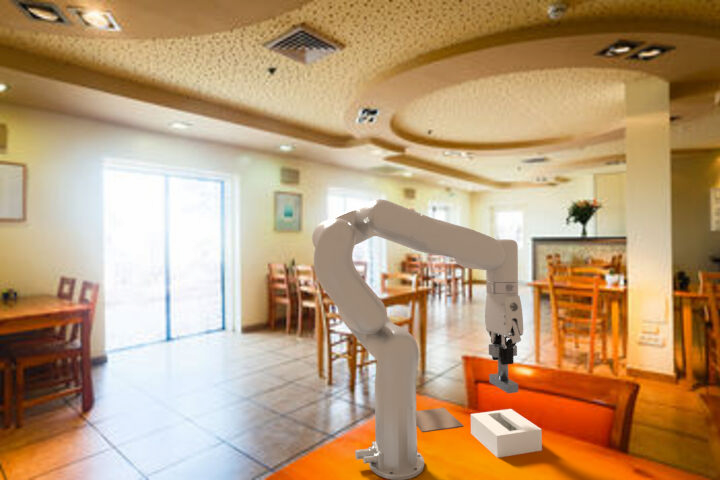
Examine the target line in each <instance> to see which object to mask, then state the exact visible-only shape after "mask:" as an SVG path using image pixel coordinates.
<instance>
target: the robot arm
mask: <svg viewBox="0 0 720 480" xmlns="http://www.w3.org/2000/svg"><path fill="white" fill-rule="evenodd" d="M373 237H378V238H382V239H384V240H386V241H390V242H393V243H395V244H398V245H401V246H404V247H407V248H409V249H411V250H413V251H417V252H421V253H424V254H429V255H436V256H442V257H448V258H452V259H454V261H455V263H456V264H457V265H459V266H460V267H462V268H465V269H469V270H470V269H471V270H480V271H486V272H485V273H486V274H485V276H486V277H485V278H486V285H485V287H486V297H485V298H486V299H485V307H484V312H485V313H484V321H485V322H484V324H485V330H486V331H487V333H488V334H489V337H490V344H500V343H502V347H503V348H501V364H503V365H506V364H508V365H513V364H514V361H515V360H514V356H513V348H515V345H517V343H519V342H521V341H522V338H521V336H523V335H524V318H523V308H522V307H523V306H522V301H521V298H520V295H519V249H518V246H519V245H518V243H517V241H516V240H514V239H509V238H508V239H505V238H504V239H501V238H500V239H499V238H498V239H495V238H494V237H491V236H489V235H487V234H484V233H482V232H480V231H477V230H474V229H471V228H469V227H465V226H461V225H458V224H455V223H450V222H447V221H445V220H441V219H437V218H433V217H430V216H427V215H425V214H423V213H420V212H418V211H414V210H412V209H410V208H407V207H406V206H405V207H404V206H402V205H400V204H397V203H394V202H393V201H389V200H387V199H381V198H380V199H379V198H378V199H374V200H371V201H368V202H365V203H363V204H362V205H359V206H357V207H355V208H353V209H351V210H348V211H346V212H344V213H341V214H339V215H336V216H334V217H331V218H330V219H327V220H324V221H322V222H320V223H319V224H318V225H317V226H316V227H315V228H314V230H313V233H312V237H311V239H312V243H313V246H314V253H313V266H314V267H313V268H314V273H315V276H316V279H317V282H318V283H319V284H320V286H321V288H322V289H323V290H324V291H325V293H326V294H327V295H328V297H329V299H330V301H332V303H333V304H334V305H335V306H336V307H337V312H338V315H339V317H340V319H341V321H342V322H343V323H344V325H345V326H346V327H347V329H348V330H349V331H350V332H351V334H353V336H354V337H355V338H356V339H357V341H358V342H359V343H360V344H361V345H362V347H363V348H364V349H365V351H367V353H369V354H370V355H371V356H372V357H373V358H374V359H375V360H376V371H375V376H374V377H375V378H374V423H375V424H374V426H375V429H374V431H375V432H374V434H375V441H371V446H369V447H368V448H364V449H355V452H354V454H355V455H354V456H355V459H356V460H363V464H368V465H369V469H371V471H372V472H373V474H376V475H377V476H378V477H382V478H384V479H387V480H410V479H412V478H415V477H417V476H418V475H420V474H421V473H422V472H423V470H424V468H425V460H424V457H423V456H422V454H421V453H420V452H418V437H417V436H418V433H417V431H418V430H417V428H418V426H417V420H416V411H417V371H418V365H419V358H420V357H419V356H420V355H419V354H420V351H419V345H418V343H417V341H416V339H415V337H414V336H413V335H412V334H411V333H410V331H408V330H407V329H404V328H403V327H401V326H400V325H397V324H396V323H395V324H394V322H393V321H391V319H390V318H389V317H388V314H387V309H386V306H385V304H384V302H383V301H382V300H381V298H380V297H379V296H378V295H377V294H376V293H375V292H374V291H373V288H371V286H369V284H368V283H367V281H365V279H364V278H363V277H362V275H361V274H360V273H359V271H358V269H357V268H356V267H355V264H354V260H353V253H354V249H355V246H356V245H358V244H361V243H362V242H365V241H367V240H369V239H371V238H373ZM491 359H492V360H493V361H498V357H497V358H495V357H493V356H491Z"/></svg>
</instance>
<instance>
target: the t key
mask: <svg viewBox="0 0 720 480" xmlns="http://www.w3.org/2000/svg"><path fill="white" fill-rule="evenodd" d="M501 348H503V347H502V343H500V344H492V343H489V344H488V355H489V356H491V357H492V356H493V357H495V358H497V357H498V360H497V373H489V374H488V378H489V383H490V384H492V385H494V386H495V387H497V388H499V389H500V390H502V391H503V392H505V393H506V394H513V393H514V394H515V393H519V383H517V382H515V381H513V380H511V379H510V378H509V364H506V365H503V364H501ZM516 356H518V346H517V344H515V348H513V357H516Z"/></svg>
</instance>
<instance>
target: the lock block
mask: <svg viewBox="0 0 720 480" xmlns="http://www.w3.org/2000/svg"><path fill="white" fill-rule="evenodd" d="M542 433H543V432H542V428H540V427H539V426H537V425H536V424H534V423H533V422H531V421H530V420H528V419H527V418H525V417H524V416H522V415H521V414H519V413H518V412H517V411H515V410H514V409H512V408H508V409H507V408H505V409H499V410H492V411H491V410H490V411H484V412H477V413H476V412H475V413H470V434H471V435H472V436H473V437H474V438H476V440H478V442H480V443H481V444H482V445H483V446H484V447H485V448H486V449H487V450H488V451H490V453H491V454H493V455H494V456H495V457H496V458H505V457H509V456H516V455H522V454H528V453H534V452H541V451H543V444H542V443H543V441H542V440H543V439H542V438H543V435H542Z"/></svg>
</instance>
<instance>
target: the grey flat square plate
mask: <svg viewBox="0 0 720 480" xmlns="http://www.w3.org/2000/svg"><path fill="white" fill-rule="evenodd" d="M416 420H417V428H418V429H419V430H420V432H421V433H424V432H425V433H427V432H432V431H441V430H447V429H455V428H462V427H464V424H463V423H462V422H460V421H459V420H458V419H457V418H456V417H455V416H454V415H453V414H452V413H450V412H449V411H448V410H447V409H446V408H445V407H439V408H431V409H430V408H429V409H422V410H416Z"/></svg>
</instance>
